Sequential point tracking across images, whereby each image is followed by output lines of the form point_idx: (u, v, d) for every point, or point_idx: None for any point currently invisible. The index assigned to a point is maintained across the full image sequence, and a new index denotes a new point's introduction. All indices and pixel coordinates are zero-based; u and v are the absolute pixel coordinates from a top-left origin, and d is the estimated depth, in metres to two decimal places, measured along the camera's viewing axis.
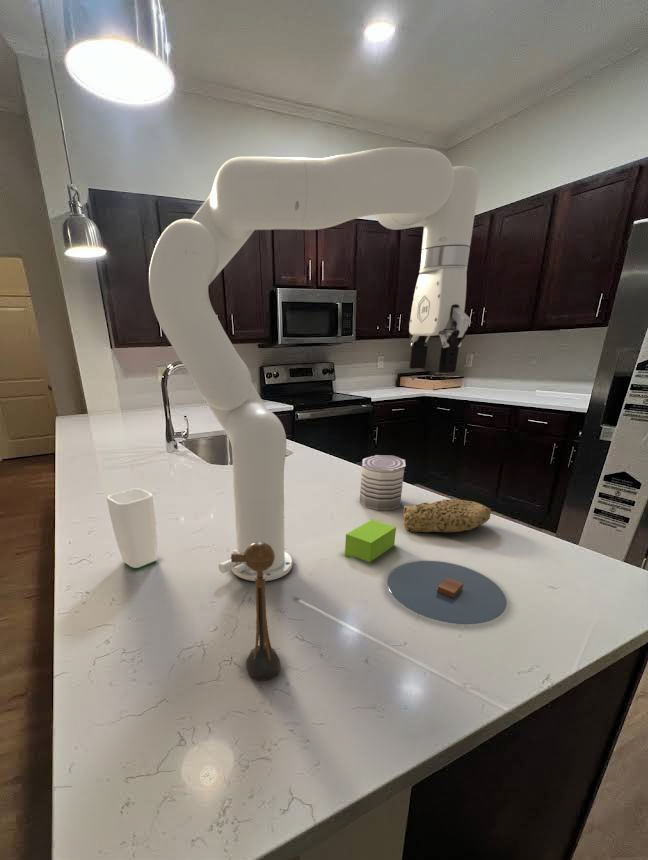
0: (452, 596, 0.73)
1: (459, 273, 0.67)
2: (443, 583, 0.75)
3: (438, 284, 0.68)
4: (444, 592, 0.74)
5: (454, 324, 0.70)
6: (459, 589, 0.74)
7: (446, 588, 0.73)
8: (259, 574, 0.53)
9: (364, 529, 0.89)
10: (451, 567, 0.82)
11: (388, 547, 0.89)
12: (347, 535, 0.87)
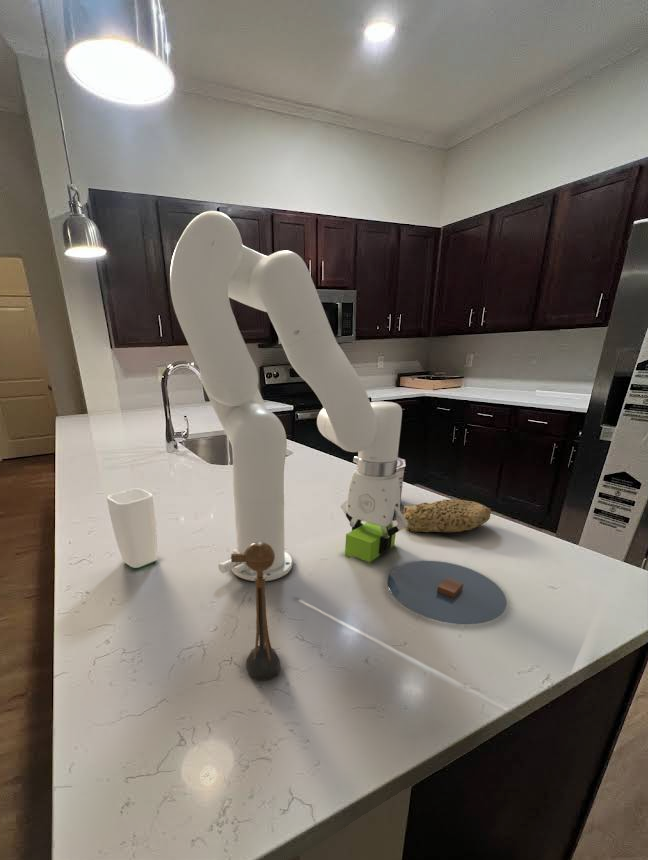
0: (452, 596, 0.73)
1: (397, 481, 0.81)
2: (443, 583, 0.75)
3: (383, 490, 0.80)
4: (444, 592, 0.74)
5: None
6: (459, 589, 0.74)
7: (446, 588, 0.73)
8: (259, 574, 0.53)
9: (364, 529, 0.89)
10: (451, 567, 0.82)
11: None
12: (347, 535, 0.87)
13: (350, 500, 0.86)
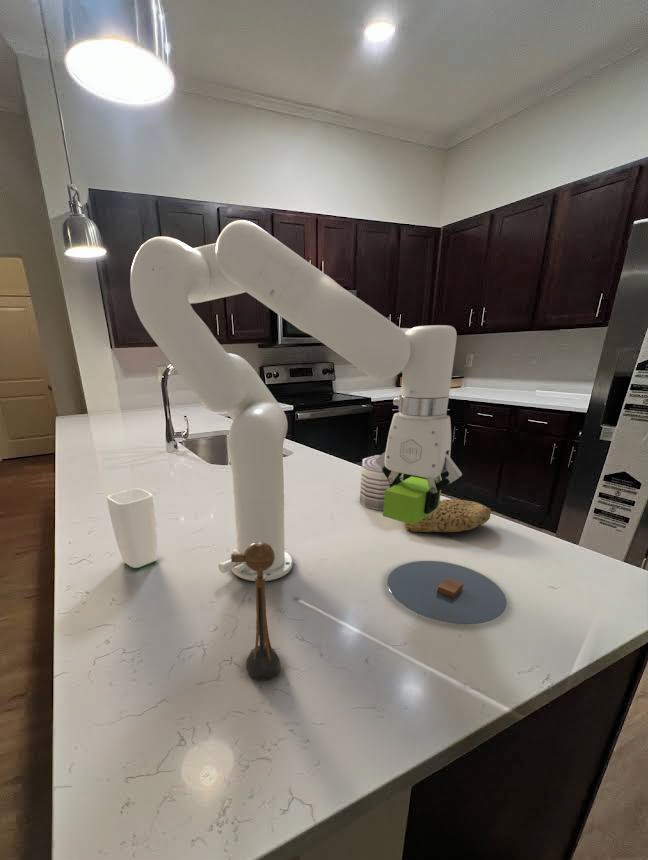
0: (452, 596, 0.73)
1: (449, 422, 0.67)
2: (443, 583, 0.75)
3: (432, 433, 0.67)
4: (444, 592, 0.74)
5: None
6: (459, 589, 0.74)
7: (446, 588, 0.73)
8: (259, 574, 0.53)
9: (405, 485, 0.76)
10: (451, 567, 0.82)
11: None
12: (386, 491, 0.73)
13: (389, 450, 0.73)
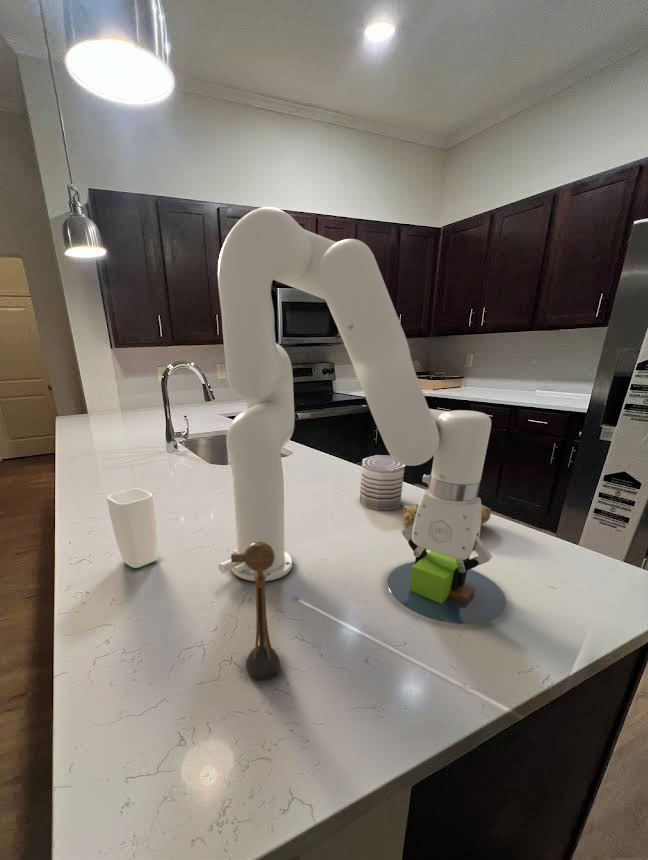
0: (464, 601, 0.71)
1: (480, 506, 0.67)
2: None
3: (463, 517, 0.67)
4: (456, 596, 0.72)
5: None
6: (471, 594, 0.73)
7: (458, 593, 0.72)
8: (259, 574, 0.53)
9: (431, 559, 0.75)
10: None
11: None
12: (414, 568, 0.73)
13: (418, 526, 0.73)
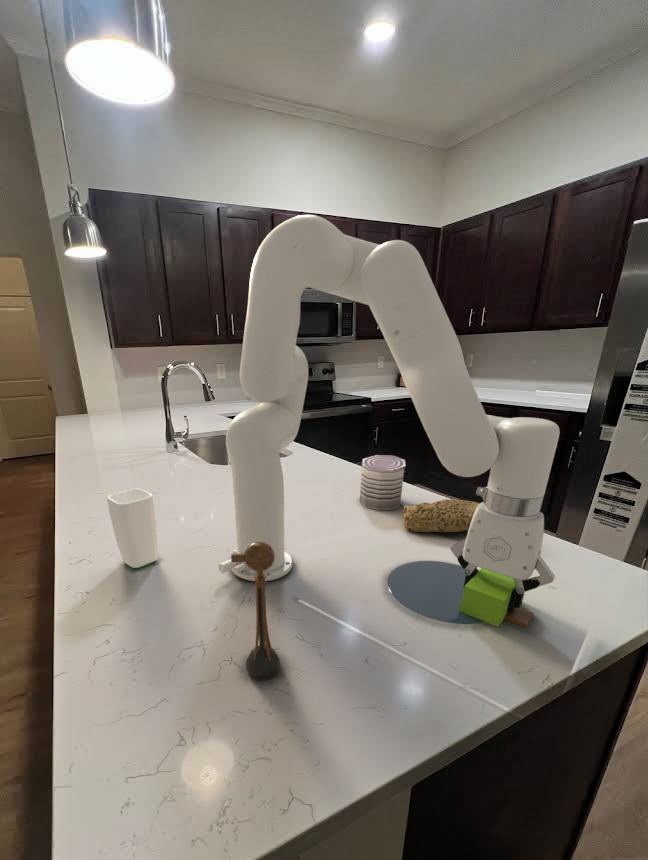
0: None
1: (543, 522, 0.61)
2: None
3: (526, 534, 0.61)
4: (513, 622, 0.67)
5: None
6: (530, 619, 0.67)
7: (516, 618, 0.66)
8: (259, 574, 0.53)
9: (484, 577, 0.69)
10: (451, 567, 0.82)
11: None
12: (466, 588, 0.67)
13: (470, 543, 0.67)
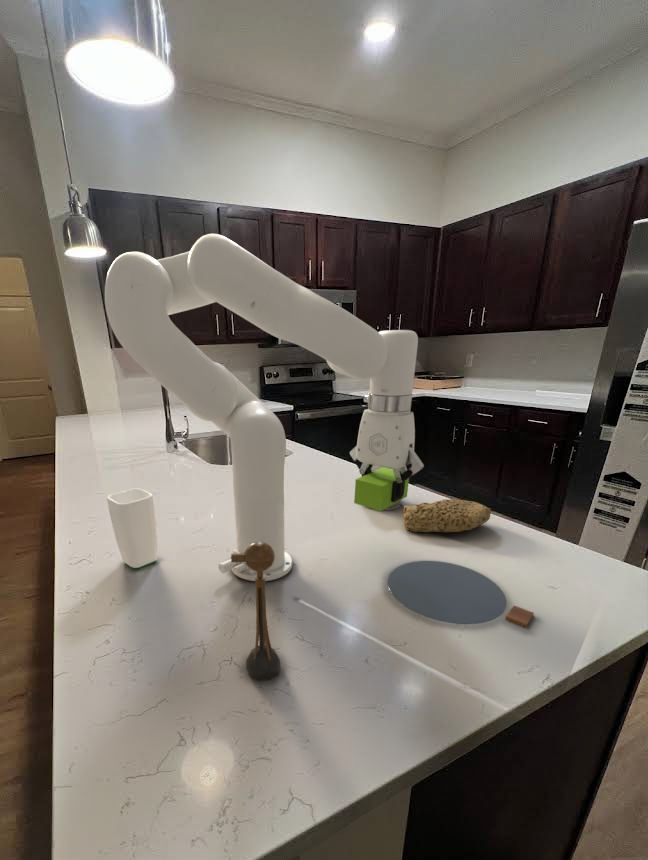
0: None
1: (411, 418, 0.74)
2: (511, 612, 0.68)
3: (396, 428, 0.74)
4: (513, 622, 0.67)
5: None
6: (530, 619, 0.67)
7: (516, 618, 0.66)
8: (259, 574, 0.53)
9: (375, 475, 0.82)
10: (451, 567, 0.82)
11: None
12: (357, 480, 0.80)
13: (360, 443, 0.80)
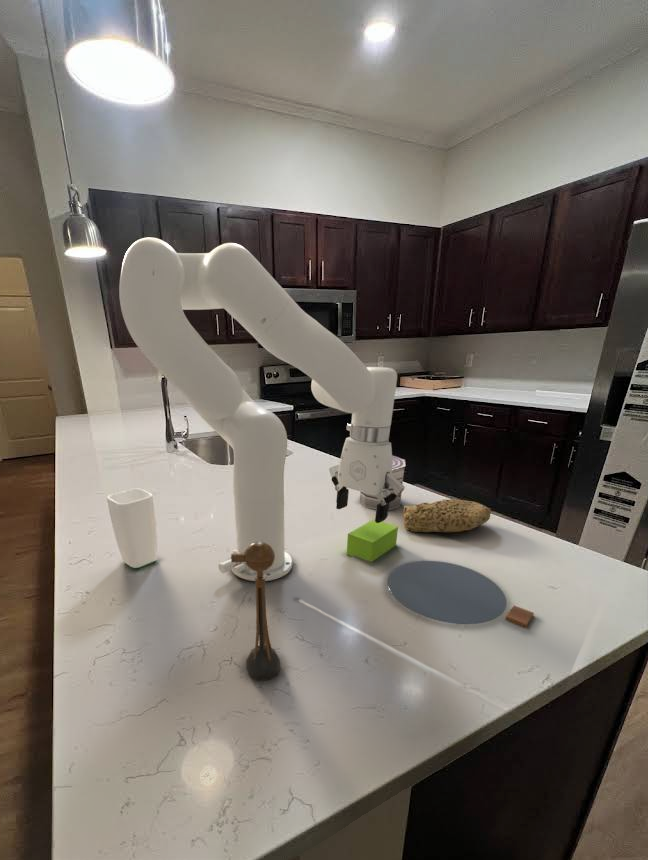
0: None
1: (389, 448, 0.80)
2: (511, 612, 0.68)
3: (374, 456, 0.79)
4: (513, 622, 0.67)
5: None
6: (530, 619, 0.67)
7: (516, 618, 0.66)
8: (259, 574, 0.53)
9: (366, 528, 0.89)
10: (451, 567, 0.82)
11: (390, 547, 0.89)
12: (349, 535, 0.87)
13: (341, 468, 0.85)
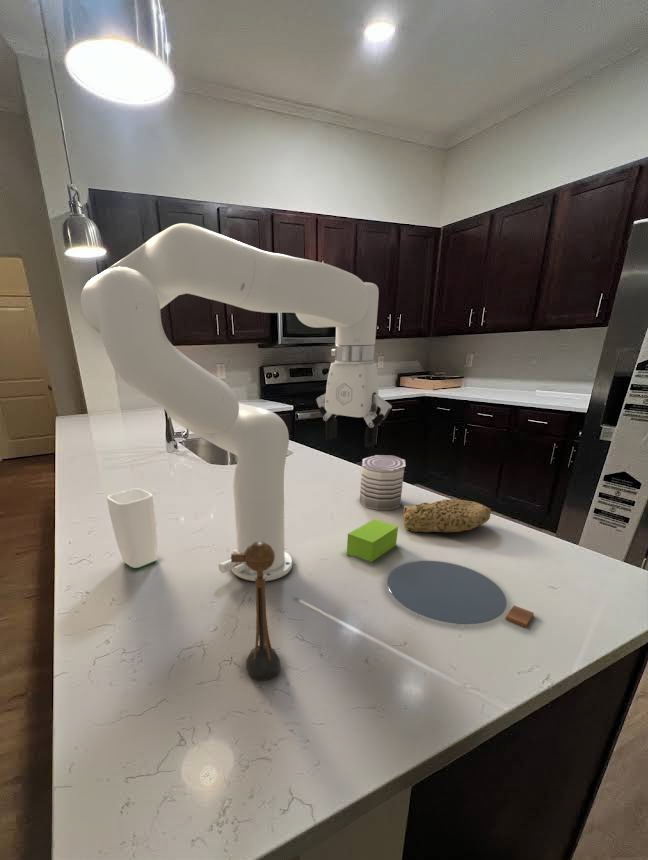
0: None
1: (374, 367, 0.79)
2: (511, 612, 0.68)
3: (360, 376, 0.79)
4: (513, 622, 0.67)
5: (370, 406, 0.83)
6: (530, 619, 0.67)
7: (516, 618, 0.66)
8: (259, 574, 0.53)
9: (366, 528, 0.89)
10: (451, 567, 0.82)
11: (390, 547, 0.89)
12: (349, 535, 0.87)
13: (328, 394, 0.85)
